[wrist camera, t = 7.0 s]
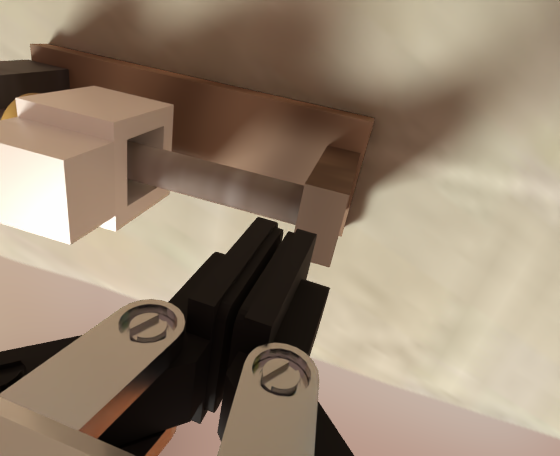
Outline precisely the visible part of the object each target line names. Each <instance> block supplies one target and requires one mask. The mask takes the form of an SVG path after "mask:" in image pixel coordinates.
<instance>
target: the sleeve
mask: <svg viewBox="0 0 560 456" xmlns="http://www.w3.org/2000/svg"><path fill="white" fill-rule="evenodd" d="M15 100H16V108H17V115H18V117H15V118H10V119H5V120H0V223H1V224H4V225H7V226H11V227H14V228H17V229H20V230H24V231H27V232H30V233H34V234H37V235H40V236H43V237H47V238H50V239H53V240H56V241H60V242H63V243H66V244H70V245H71V244H73V243H74V242H76V241H77V240H79V239H80V238H82V237H83V236H85V235H87V234H88V233H90V232H91V231H93V230H94V229H96V228H98V227H102V228H106V229H109V230H112V231H117V230H119V229H120V228H122V227H123V226H124V225H126V224H127V223H129V222H130V221H132V220H133V219H135V218H136V217H137V216H139V215H140V214H142V213H143V212H145V211H146V210H147V209H149V208H150V207H152V206H153V205H155V204H156V203H158V202H159V201H160V200H162V199H163V198H165V197H166V196H168V195H169V193H170V190H166V189H162V188H159V187H155V186H151V185H148V184H144V183H140V182H137V181H133V180H129V179H127V140H129V141H133V142H137V143H141V144H144V145H148V146H152V147H156V148H160V149H164V150H168V151H172V131H173V111H174V105H173V104H169V103H165V102H161V101H156V100H152V99H148V98H144V97H140V96H135V95H131V94H127V93H123V92H119V91H115V90H110V89H106V88H102V87H98V86H89V87H82V88H76V89H69V90H62V91H56V92H49V93H42V94H36V95H29V96H23V97H16V98H15Z"/></svg>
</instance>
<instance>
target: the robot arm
mask: <svg viewBox="0 0 560 456" xmlns="http://www.w3.org/2000/svg"><path fill="white" fill-rule="evenodd" d="M282 237H283V229H279V228H278V223H277V222H274V221H271V220H267V219H264V218H260V217H258V218H256V220H255V221H254V222H253V223H252V224H251V225H250V227H249V228H248V229H247V230H246V231H245V232H244V234H243V235H242V236H241V237H240V238H239V239H238V241H237V242H236V243H235V244H234V245H233V246H232V248H231V249H230V250H229V251H228V252H227V253H226V255H225V254H222V253H219V252H215V253H213V254H212V255H211V256H210V257H209V258H208V260H207V261H206V262H205V263H204V264H203V265H202V266H201V267H200V268H199V269H198V270H197V271H196V273H195V274H194V275H193V276H192V277H191V278H190V279H189V280H188V281H187V282H186V283H185V285H184V286H183V287H182V288H181V289H180V290H179V291H178V292H177V293H176V294H175V295H174V296H173V298H172V299H171V300H170V301H169V302H165V301H163V300H154V299H149V300H140V301H136V302H133V303H130V304H128V305H126V306H124V307H122V308H120V309H119V310H118V311H116V312H115V313H113V314H112V315H111V316H109V317H108V318H106V319H105V320H103V321H102V322H101V323H99V324H98V325H96V326H95V327H94V328H92V329H91V330H89V331H88V332H87V333H85V334H84V335H81V336H76V337H71V338H66V339H61V340H56V341H51V342H46V343H41V344H36V345H32V346H26V347H22V348H16V349H12V350H7V351H2V352H0V456H158V455H159V454H160V452H161V451H162V450H163V449H164V447H165V446H166V445H167V444H168V443H169V441H170V440H171V438H172V437H173V435H174V433H175V432H176V427H177V426H178V425H181V424H184V423H187V422H190V421H191V420H192V421H194V422H197V423H199V424H200V423H201V422H202V420H203V418H204V416H205V414H206V413H207V411H211V412H213V413H214V412H215V411H216V410H217V408H218V406H219V404H220V402H221V401H222V406H221V413H220V419H219V426H218V435H219V437H220V440H221V445H220V448H219V452H218V455H217V456H354V455H353V453H352V452H351V450H350V449H349V447H348V446H347V444H346V443H345V441H344V440H343V438H342V437H341V435H340V434H339V432H338V431H337V429H336V428H335V426H334V424H333V423H332V422H331V420H330V419H329V417H328V415H327V414H326V413H325V411H324V409H323V408H322V406H321V405H320V403H319V402H318V390H319V374H318V369H317V367H316V366H315V363H314V361H313V360H312V359H311V358H310V357H309V356H310V353H311V350H312V347H313V344H314V341H315V337H316V334H317V331H318V328H319V324H320V321H321V318H322V314H323V311H324V307H325V304H326V300H327V297H328V293H329V290H330V288H329V287H326V286H323V285H320V284H316V283H313V282H310V281H307V280H306V278H307V274H308V270H309V266H310V262H311V258H312V254H313V250H314V246H315V242H316V238H317V234H315V233H311V232H308V231H304V230H301V229H297V230H296V232H295V233H293V232H290V231H288V233H287V234H286V236H285V237H284V239H283V241H282ZM222 399H223V400H222Z"/></svg>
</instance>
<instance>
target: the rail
mask: <svg viewBox="0 0 560 456" xmlns="http://www.w3.org/2000/svg"><path fill="white" fill-rule="evenodd" d="M30 48H31V57H32V60H14V61H0V120H5V119H10V118H15V117H18V115H17V108H16V100H15V98H16V97H23V96H29V95H36V94H42V93H49V92H56V91H62V90H69V89H76V88H82V87H89V86H98V87H102V88H106V89H110V90H115V91H119V92H123V93H127V94H131V95H135V96H140V97H144V98H148V99H152V100H156V101H161V102H165V103H169V104H173V105H174V111H173V131H172V151H168V150H164V149H160V148H156V147H152V146H148V145H144V144H141V143H137V142H133V141H129V140H127V179H129V180H133V181H137V182H140V183H144V184H148V185H151V186H155V187H159V188H162V189H166V190H170V191H173V192H177V193H181V194H184V195H188V196H192V197H195V198H199V199H203V200H206V201H210V202H214V203H217V204H221V205H225V206H228V207H232V208H236V209H239V210H243V211H247V212H250V213H254V214H258V215H261V216H265V217H269V218H272V219H276V220H280V221H283V222H287V223H291V224H294V225H296V226H295V231H294V233H295V232H296V230H297V229H301V230H304V231H308V232H311V233H315V234H317V238H316V242H315V246H314V250H313V254H312V258H311V262H312V263H316V264H319V265H323V266H326V267H330V264H331V260H332V257H333V253H334V250H335V246H336V242H337V239H338V236H342V233H343V229H344V226H345V222H346V219H347V215H348V212H349V208H350V205H351V201H352V198H353V194H354V190H355V187H356V183H357V180H358V176H359V173H360V169H361V166H362V162H363V159H364V155H365V152H366V148H367V145H368V141H369V138H370V134H371V130H372V127H373V123H374V119H375V118H372V117H368V116H363V115H359V114H354V113H350V112H346V111H341V110H337V109H332V108H328V107H324V106H319V105H315V104H310V103H306V102H302V101H297V100H293V99H288V98H284V97H280V96H275V95H271V94H266V93H262V92H257V91H253V90H249V89H244V88H240V87H235V86H231V85H227V84H222V83H218V82H213V81H209V80H205V79H200V78H196V77H191V76H187V75H183V74H178V73H174V72H169V71H165V70H161V69H156V68H152V67H147V66H143V65H138V64H134V63H130V62H125V61H121V60H116V59H112V58H108V57H103V56H99V55H94V54H90V53H86V52H81V51H77V50H72V49H68V48H64V47H59V46H55V45H50V44H30Z"/></svg>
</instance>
